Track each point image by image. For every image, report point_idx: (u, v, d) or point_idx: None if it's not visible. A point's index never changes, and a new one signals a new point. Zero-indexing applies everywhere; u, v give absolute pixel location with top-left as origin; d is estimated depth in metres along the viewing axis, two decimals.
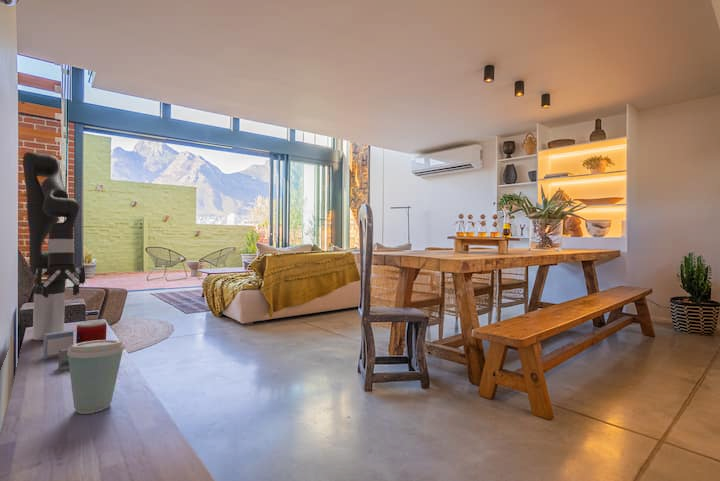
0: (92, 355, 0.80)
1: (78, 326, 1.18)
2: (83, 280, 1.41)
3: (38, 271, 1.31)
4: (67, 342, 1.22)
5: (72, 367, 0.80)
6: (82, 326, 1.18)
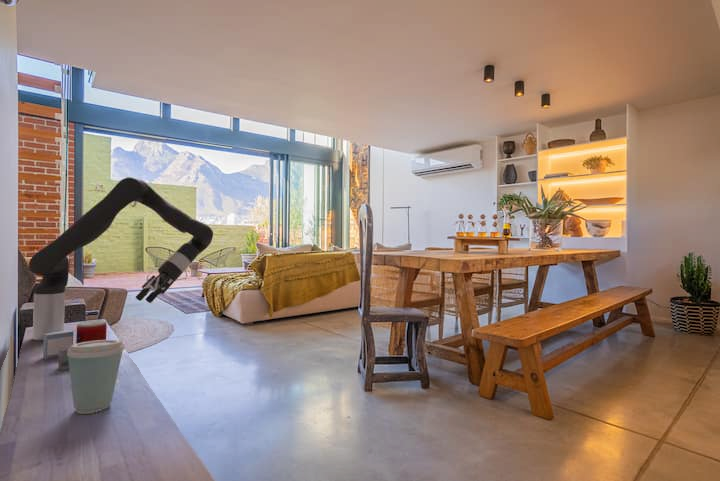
0: (92, 355, 0.80)
1: (78, 326, 1.18)
2: None
3: (172, 283, 1.35)
4: (67, 342, 1.22)
5: (72, 367, 0.80)
6: (82, 326, 1.18)
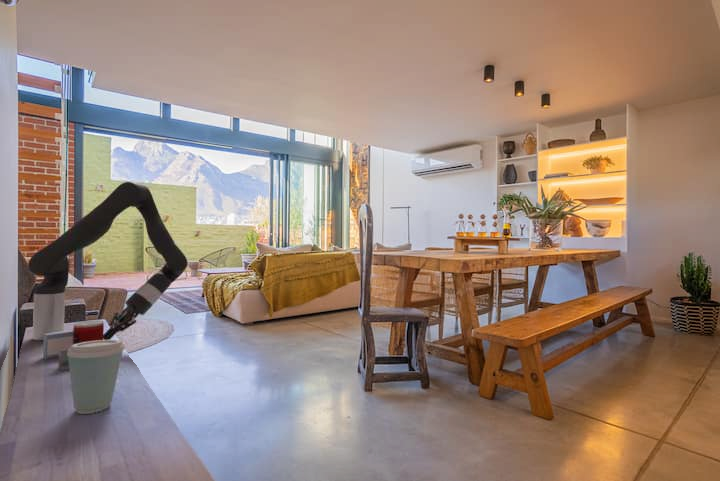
0: (92, 355, 0.80)
1: (75, 326, 1.18)
2: None
3: (133, 323, 1.27)
4: (67, 342, 1.22)
5: (72, 367, 0.80)
6: (79, 326, 1.17)
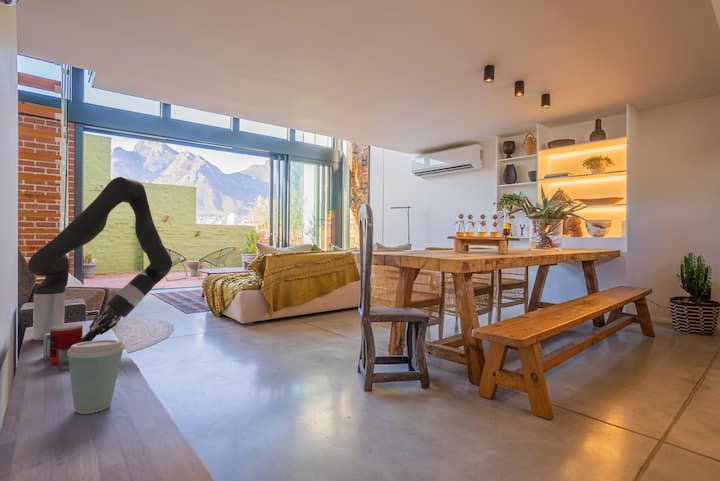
0: (92, 355, 0.80)
1: (52, 330, 1.13)
2: None
3: (113, 326, 1.22)
4: None
5: (72, 367, 0.80)
6: (56, 330, 1.12)
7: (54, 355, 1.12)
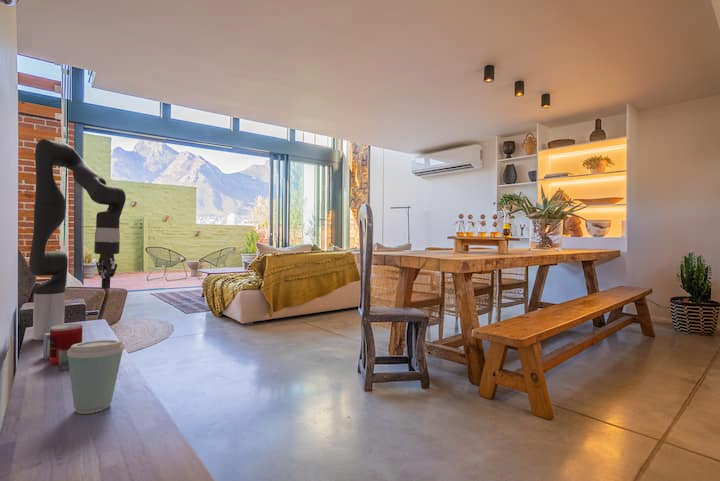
0: (92, 355, 0.80)
1: (52, 330, 1.13)
2: None
3: (116, 266, 1.33)
4: None
5: (72, 367, 0.80)
6: (56, 330, 1.12)
7: (54, 355, 1.12)
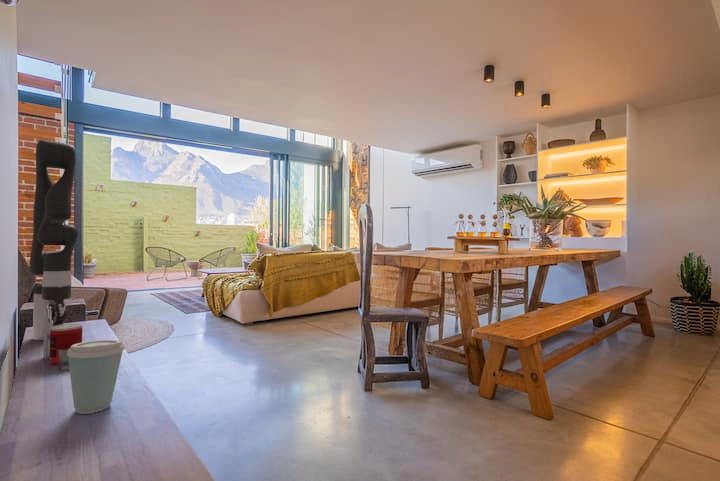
0: (92, 355, 0.80)
1: (52, 330, 1.13)
2: None
3: (65, 313, 1.21)
4: None
5: (72, 367, 0.80)
6: (56, 330, 1.12)
7: (54, 355, 1.12)
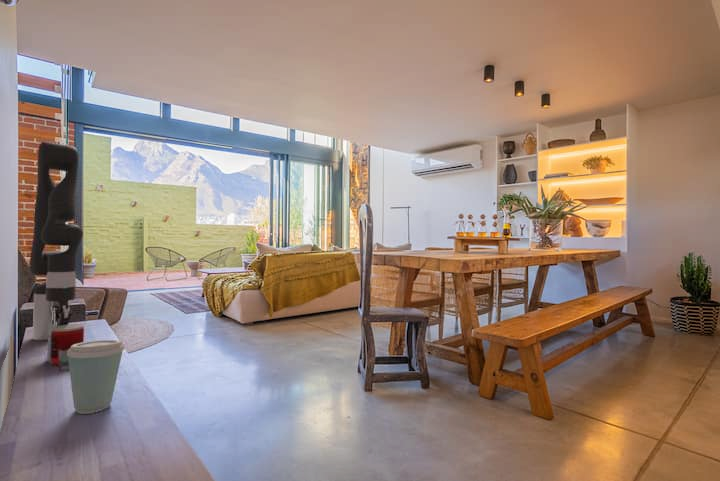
0: (92, 355, 0.80)
1: (53, 330, 1.12)
2: None
3: (69, 315, 1.19)
4: None
5: (72, 367, 0.80)
6: (57, 330, 1.11)
7: (55, 356, 1.11)
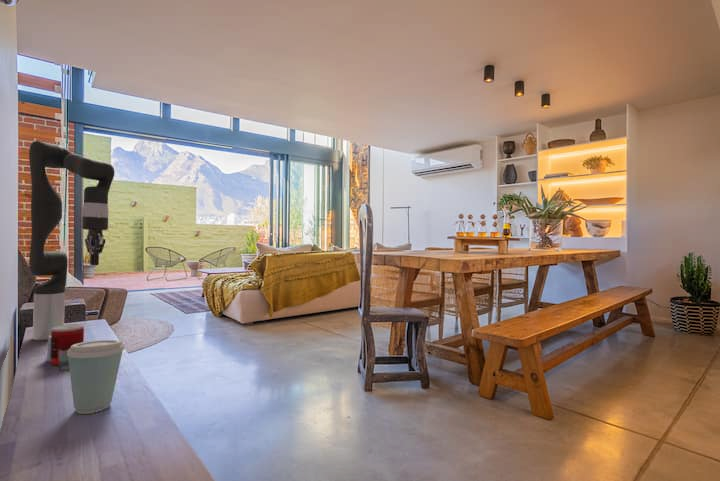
0: (92, 355, 0.80)
1: (53, 331, 1.12)
2: None
3: (104, 242, 1.30)
4: None
5: (72, 367, 0.80)
6: (57, 331, 1.11)
7: (55, 356, 1.11)
